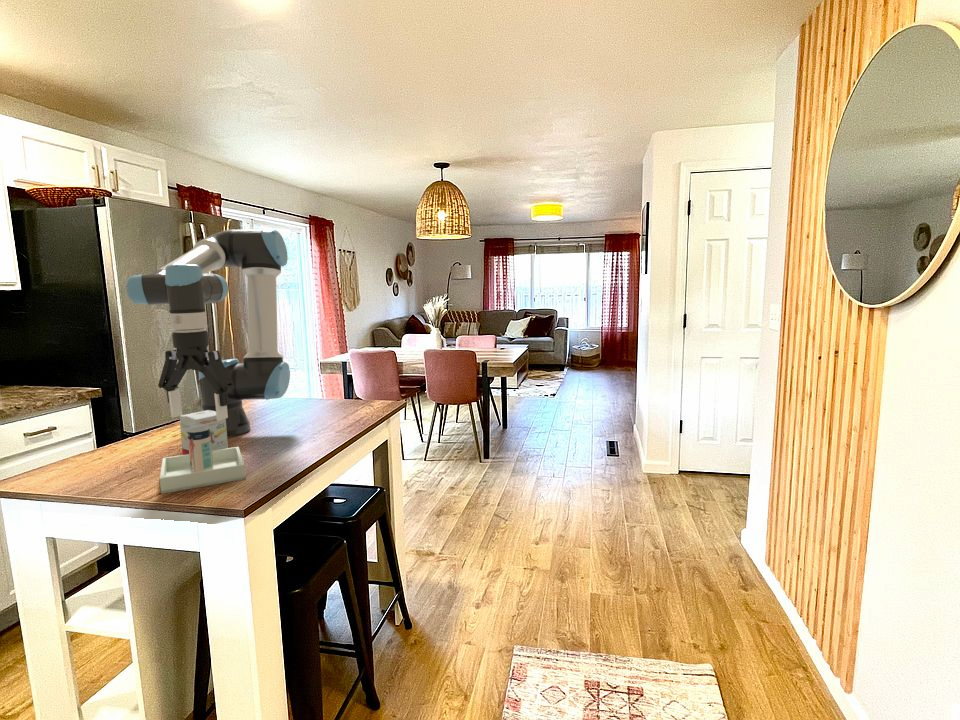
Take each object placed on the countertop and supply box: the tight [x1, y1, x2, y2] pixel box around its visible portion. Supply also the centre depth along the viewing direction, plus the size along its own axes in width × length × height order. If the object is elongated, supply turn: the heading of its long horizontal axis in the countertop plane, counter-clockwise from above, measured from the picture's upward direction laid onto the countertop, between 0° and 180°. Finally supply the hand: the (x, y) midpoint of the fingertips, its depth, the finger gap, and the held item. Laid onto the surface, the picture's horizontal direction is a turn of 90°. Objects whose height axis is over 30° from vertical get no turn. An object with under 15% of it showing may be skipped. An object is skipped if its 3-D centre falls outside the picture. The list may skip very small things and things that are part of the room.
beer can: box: [187, 424, 213, 473], centre depth 127 cm, size 5×5×12 cm
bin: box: [159, 446, 247, 495], centre depth 129 cm, size 17×17×4 cm
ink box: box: [179, 410, 229, 455], centre depth 144 cm, size 9×9×12 cm
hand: (199, 417), depth 127 cm, fingers open, 13 cm apart
